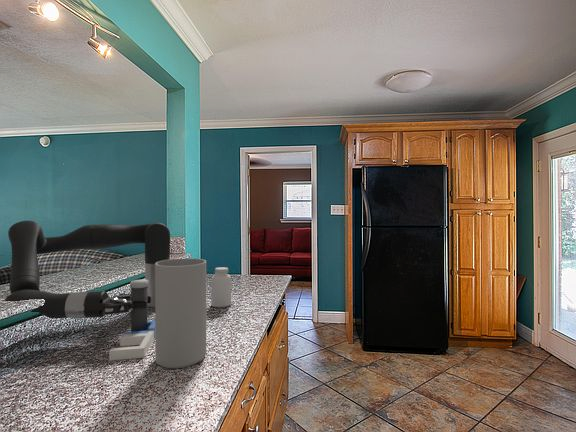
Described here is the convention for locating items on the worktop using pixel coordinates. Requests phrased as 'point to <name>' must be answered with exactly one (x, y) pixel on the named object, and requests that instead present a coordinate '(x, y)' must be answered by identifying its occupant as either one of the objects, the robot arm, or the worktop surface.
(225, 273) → the pill bottle
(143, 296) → the grey capped cylinder
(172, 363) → the cylinder vase
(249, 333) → the worktop surface
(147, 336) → the blue grey comb bracket
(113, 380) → the worktop surface
